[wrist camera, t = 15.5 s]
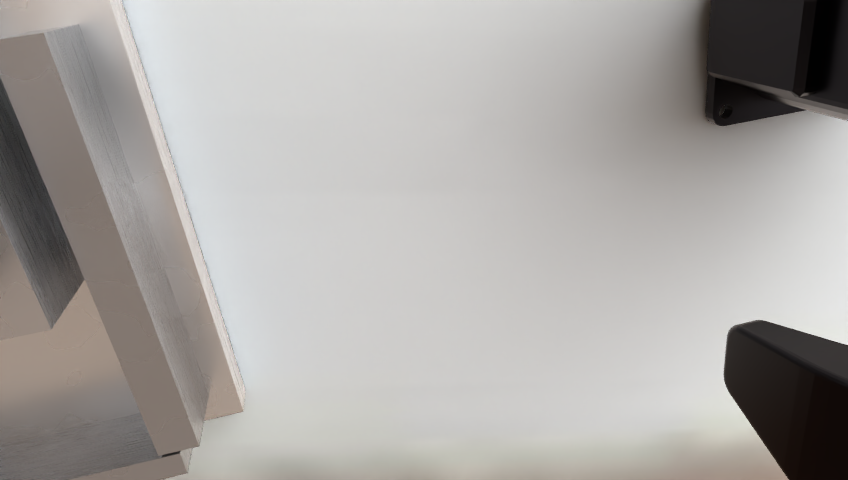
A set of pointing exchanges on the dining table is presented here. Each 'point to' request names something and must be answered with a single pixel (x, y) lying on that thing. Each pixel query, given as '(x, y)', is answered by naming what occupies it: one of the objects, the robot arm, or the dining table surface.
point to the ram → (29, 239)
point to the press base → (108, 265)
